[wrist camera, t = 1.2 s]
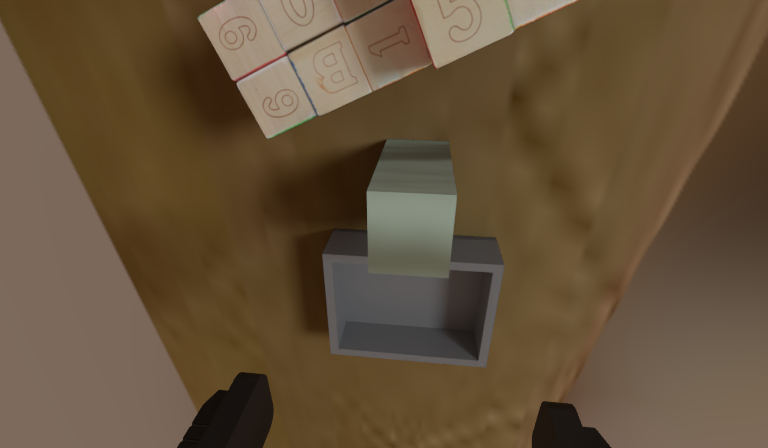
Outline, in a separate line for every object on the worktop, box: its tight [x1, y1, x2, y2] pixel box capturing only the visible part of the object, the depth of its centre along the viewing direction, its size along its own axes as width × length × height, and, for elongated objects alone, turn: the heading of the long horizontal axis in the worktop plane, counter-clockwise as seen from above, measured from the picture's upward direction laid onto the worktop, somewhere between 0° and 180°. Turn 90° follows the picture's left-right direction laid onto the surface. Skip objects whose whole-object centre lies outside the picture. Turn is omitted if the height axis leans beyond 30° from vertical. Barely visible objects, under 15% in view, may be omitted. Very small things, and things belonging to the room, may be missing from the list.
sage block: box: [367, 139, 457, 278], centre depth 24 cm, size 5×4×10 cm
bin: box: [322, 229, 504, 367], centre depth 32 cm, size 10×13×4 cm
